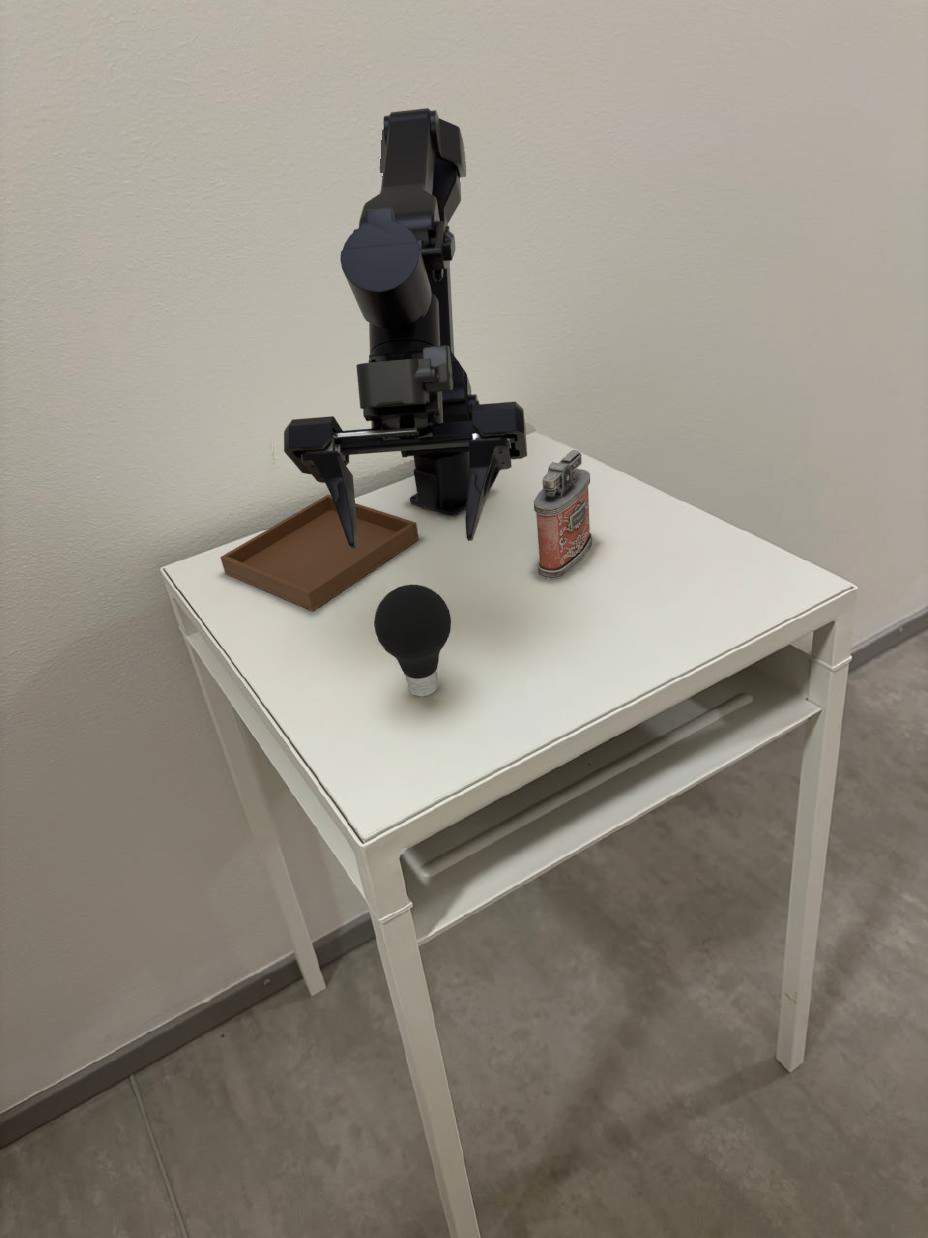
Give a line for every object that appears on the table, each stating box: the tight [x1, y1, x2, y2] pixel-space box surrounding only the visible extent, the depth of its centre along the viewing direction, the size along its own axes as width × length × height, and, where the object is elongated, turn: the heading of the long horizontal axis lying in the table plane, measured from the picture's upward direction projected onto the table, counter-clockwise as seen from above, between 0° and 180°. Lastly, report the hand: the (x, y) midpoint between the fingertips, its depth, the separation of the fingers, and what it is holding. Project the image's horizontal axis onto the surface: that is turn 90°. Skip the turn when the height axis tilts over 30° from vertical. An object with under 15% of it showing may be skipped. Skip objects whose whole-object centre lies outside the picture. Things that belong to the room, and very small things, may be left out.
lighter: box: [533, 449, 593, 580], centre depth 88 cm, size 8×3×10 cm, turn 148°
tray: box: [220, 493, 420, 612], centre depth 96 cm, size 15×13×2 cm
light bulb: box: [373, 584, 452, 697], centre depth 73 cm, size 6×6×10 cm
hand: (410, 543), depth 74 cm, fingers open, 9 cm apart
